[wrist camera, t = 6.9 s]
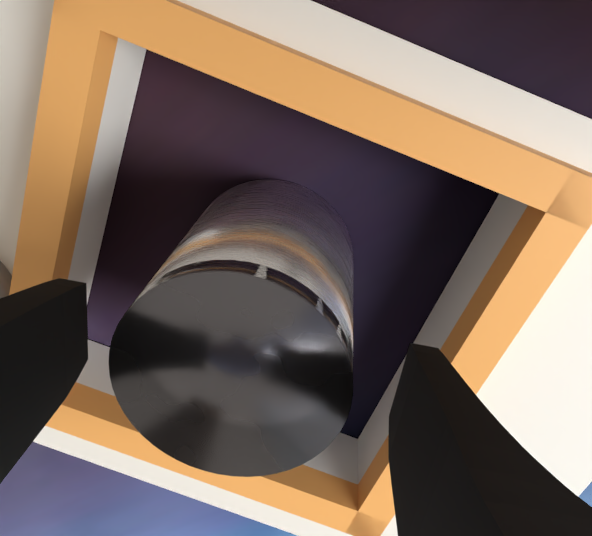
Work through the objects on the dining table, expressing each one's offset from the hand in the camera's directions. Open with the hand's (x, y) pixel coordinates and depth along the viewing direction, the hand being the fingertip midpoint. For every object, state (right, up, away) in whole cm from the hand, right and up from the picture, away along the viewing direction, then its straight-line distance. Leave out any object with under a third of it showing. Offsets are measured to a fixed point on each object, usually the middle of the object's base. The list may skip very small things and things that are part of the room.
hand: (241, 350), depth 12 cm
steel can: (0, +2, +4) cm, 5 cm away
